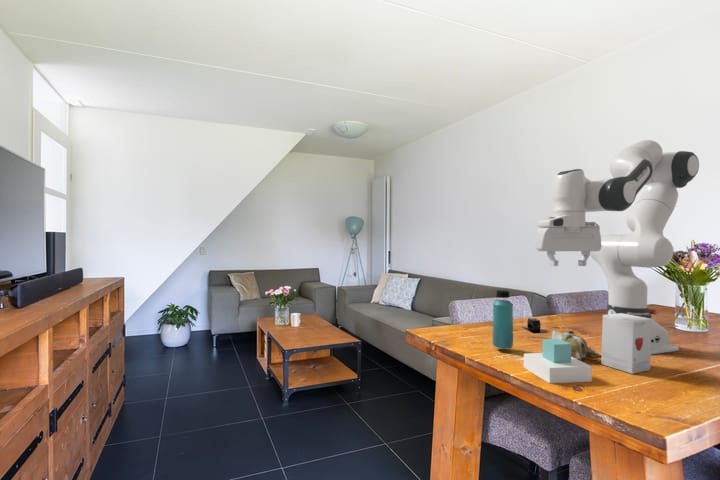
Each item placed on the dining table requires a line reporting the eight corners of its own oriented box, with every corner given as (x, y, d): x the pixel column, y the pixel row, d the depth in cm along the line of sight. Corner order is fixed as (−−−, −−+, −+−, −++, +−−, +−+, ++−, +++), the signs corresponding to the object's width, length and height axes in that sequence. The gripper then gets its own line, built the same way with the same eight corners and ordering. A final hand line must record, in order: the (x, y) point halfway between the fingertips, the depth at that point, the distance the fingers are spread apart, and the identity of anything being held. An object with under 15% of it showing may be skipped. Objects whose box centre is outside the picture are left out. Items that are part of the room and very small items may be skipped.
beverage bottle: (514, 354, 122) (515, 292, 121) (493, 352, 123) (494, 291, 123) (511, 348, 128) (511, 289, 128) (490, 346, 129) (491, 288, 129)
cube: (558, 356, 107) (559, 338, 107) (571, 362, 102) (571, 344, 102) (542, 357, 106) (542, 339, 106) (553, 363, 101) (554, 344, 101)
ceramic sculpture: (565, 323, 127) (607, 337, 113) (564, 348, 128) (605, 365, 114) (541, 326, 124) (581, 341, 110) (539, 351, 124) (579, 370, 110)
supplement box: (632, 374, 104) (633, 321, 104) (600, 364, 112) (601, 314, 112) (651, 370, 108) (652, 318, 108) (619, 360, 116) (620, 312, 116)
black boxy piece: (551, 335, 147) (552, 323, 147) (532, 335, 147) (533, 323, 147) (533, 327, 161) (534, 315, 160) (516, 327, 160) (516, 315, 160)
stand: (561, 365, 111) (561, 352, 111) (591, 381, 99) (592, 366, 99) (523, 367, 109) (523, 353, 109) (549, 383, 98) (549, 368, 98)
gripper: (591, 222, 122) (591, 265, 122) (532, 221, 119) (532, 265, 119) (607, 221, 115) (606, 266, 116) (545, 220, 113) (544, 267, 113)
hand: (568, 266), depth 117 cm, fingers open, 8 cm apart
